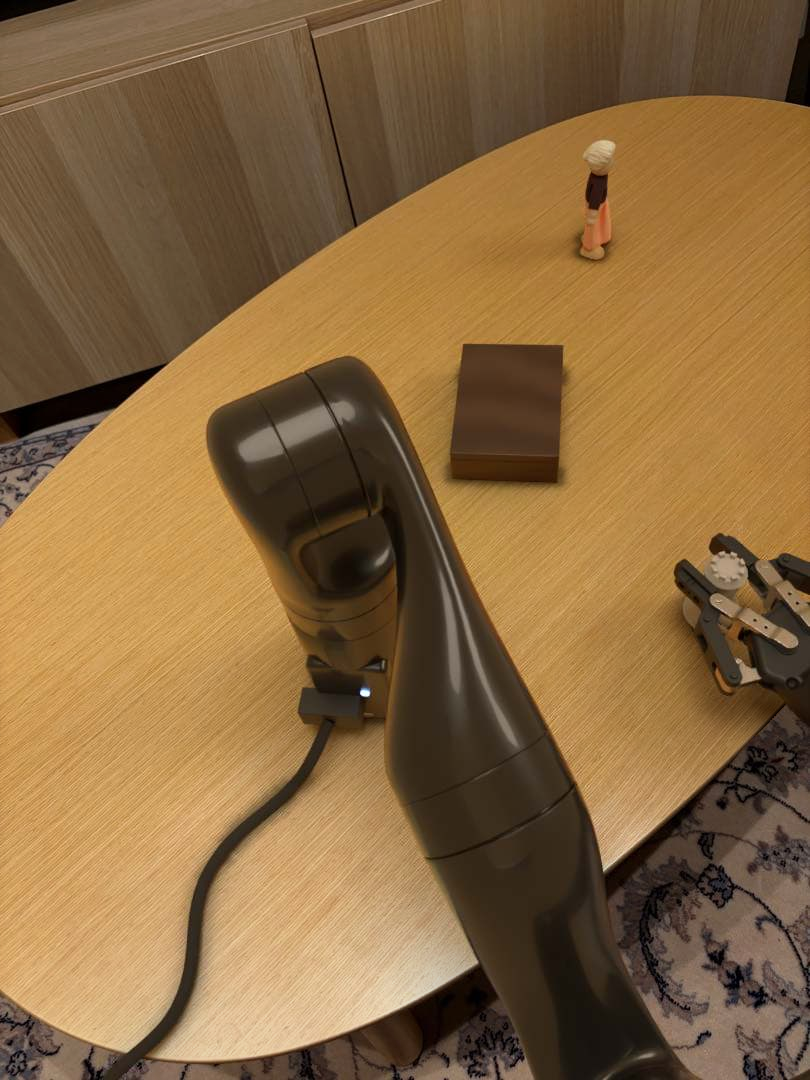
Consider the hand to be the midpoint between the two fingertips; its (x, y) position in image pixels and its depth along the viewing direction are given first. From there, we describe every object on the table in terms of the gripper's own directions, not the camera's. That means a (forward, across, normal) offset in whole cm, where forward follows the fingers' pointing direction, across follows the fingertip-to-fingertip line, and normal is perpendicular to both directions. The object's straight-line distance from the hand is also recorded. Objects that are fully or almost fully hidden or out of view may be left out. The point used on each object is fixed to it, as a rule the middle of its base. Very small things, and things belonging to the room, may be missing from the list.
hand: (696, 553), depth 69 cm
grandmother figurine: (+39, +24, -6) cm, 46 cm away
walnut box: (+24, 0, -6) cm, 25 cm away
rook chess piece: (-3, 0, -6) cm, 7 cm away
